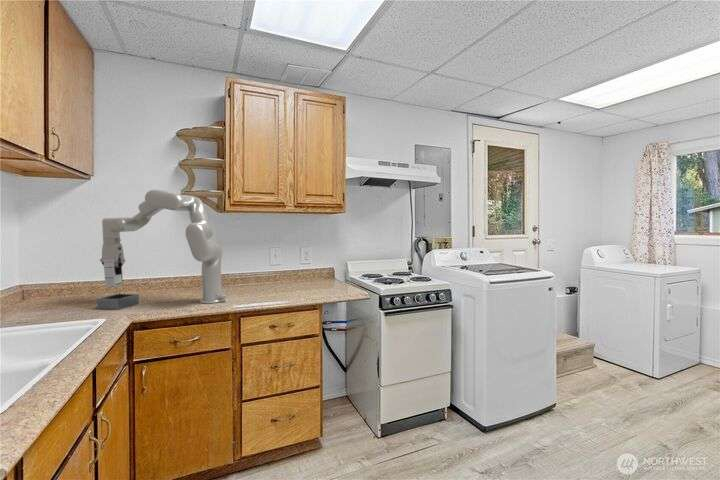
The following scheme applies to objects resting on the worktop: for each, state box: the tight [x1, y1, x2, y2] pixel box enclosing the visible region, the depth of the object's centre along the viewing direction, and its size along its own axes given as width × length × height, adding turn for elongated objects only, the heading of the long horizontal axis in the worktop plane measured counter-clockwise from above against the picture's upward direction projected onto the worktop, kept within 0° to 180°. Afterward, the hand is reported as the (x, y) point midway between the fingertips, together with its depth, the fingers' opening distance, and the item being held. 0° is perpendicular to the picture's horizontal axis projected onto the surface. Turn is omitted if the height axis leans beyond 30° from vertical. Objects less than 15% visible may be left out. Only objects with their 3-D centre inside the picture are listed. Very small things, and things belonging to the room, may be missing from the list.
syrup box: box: [103, 260, 124, 288], centre depth 190 cm, size 6×6×14 cm
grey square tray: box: [96, 293, 140, 311], centre depth 179 cm, size 12×12×5 cm
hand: (113, 274), depth 190 cm, fingers closed on syrup box, 6 cm apart
